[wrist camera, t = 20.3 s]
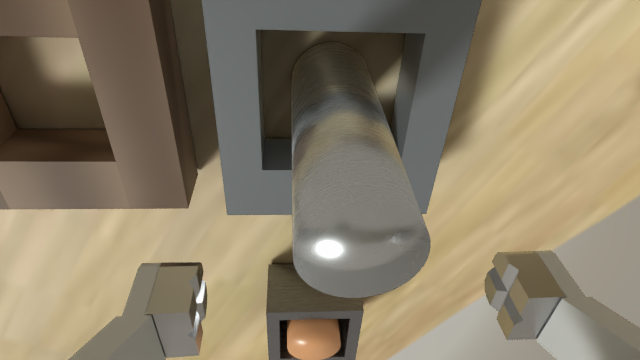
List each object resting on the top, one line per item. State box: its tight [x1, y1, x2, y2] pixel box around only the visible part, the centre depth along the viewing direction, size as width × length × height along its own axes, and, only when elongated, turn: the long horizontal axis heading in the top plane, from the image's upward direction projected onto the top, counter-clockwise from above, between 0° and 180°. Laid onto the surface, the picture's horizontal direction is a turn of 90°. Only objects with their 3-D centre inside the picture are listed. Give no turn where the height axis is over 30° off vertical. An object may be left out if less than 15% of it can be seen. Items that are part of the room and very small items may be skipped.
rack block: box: [202, 0, 482, 215], centre depth 21 cm, size 11×13×3 cm
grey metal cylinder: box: [291, 42, 430, 298], centre depth 17 cm, size 4×4×12 cm
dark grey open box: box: [266, 264, 364, 360], centre depth 31 cm, size 6×6×4 cm
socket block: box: [0, 0, 198, 209], centre depth 20 cm, size 12×12×3 cm
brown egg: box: [287, 319, 341, 360], centre depth 30 cm, size 4×4×4 cm
